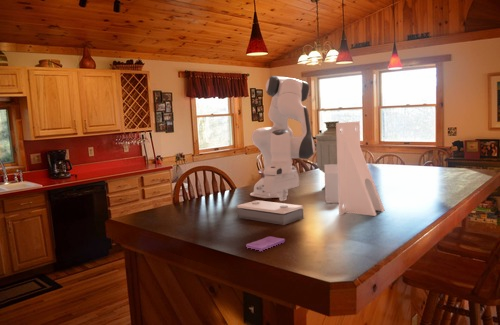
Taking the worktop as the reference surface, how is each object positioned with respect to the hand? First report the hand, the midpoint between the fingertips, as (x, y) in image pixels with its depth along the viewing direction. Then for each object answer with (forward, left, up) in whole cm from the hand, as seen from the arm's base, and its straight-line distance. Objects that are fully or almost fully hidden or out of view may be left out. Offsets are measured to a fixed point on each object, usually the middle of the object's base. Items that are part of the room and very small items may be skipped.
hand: (283, 200), depth 172 cm
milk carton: (0, +42, -9) cm, 43 cm away
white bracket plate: (+23, +30, -9) cm, 38 cm away
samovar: (-17, +77, -9) cm, 79 cm away
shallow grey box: (-7, 0, -8) cm, 11 cm away
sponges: (+16, -31, -9) cm, 37 cm away
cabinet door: (-7, 0, -4) cm, 8 cm away
